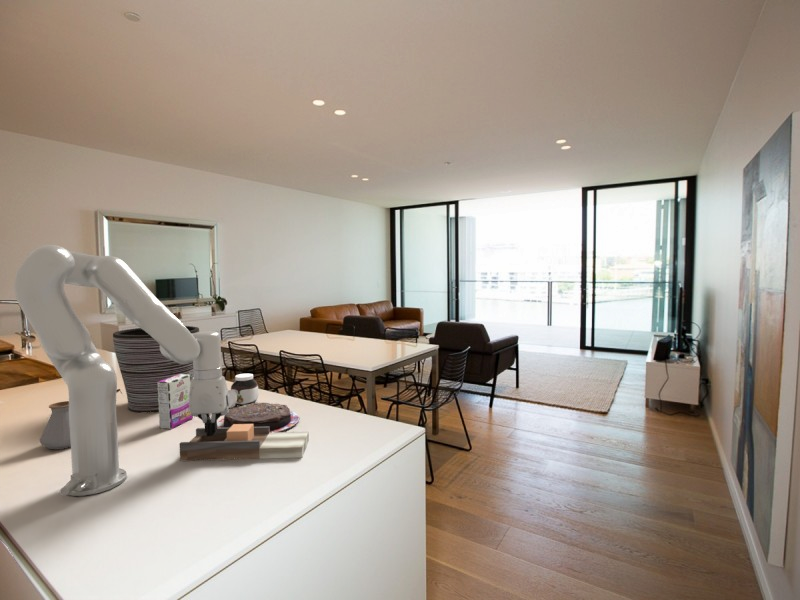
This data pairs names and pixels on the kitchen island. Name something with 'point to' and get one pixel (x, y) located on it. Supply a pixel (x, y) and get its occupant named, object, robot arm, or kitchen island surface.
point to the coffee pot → (58, 427)
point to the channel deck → (244, 445)
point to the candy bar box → (174, 401)
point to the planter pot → (144, 367)
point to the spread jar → (243, 390)
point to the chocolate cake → (261, 416)
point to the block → (240, 432)
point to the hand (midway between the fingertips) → (211, 434)
